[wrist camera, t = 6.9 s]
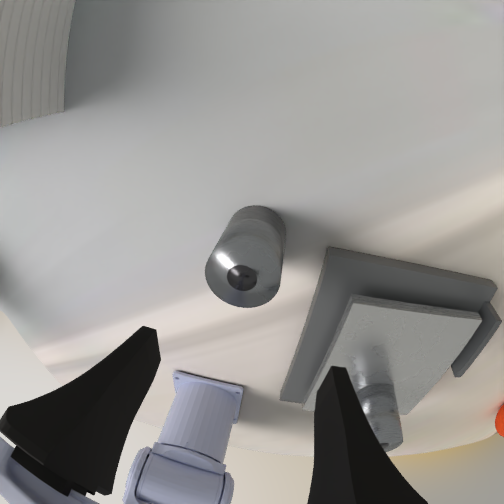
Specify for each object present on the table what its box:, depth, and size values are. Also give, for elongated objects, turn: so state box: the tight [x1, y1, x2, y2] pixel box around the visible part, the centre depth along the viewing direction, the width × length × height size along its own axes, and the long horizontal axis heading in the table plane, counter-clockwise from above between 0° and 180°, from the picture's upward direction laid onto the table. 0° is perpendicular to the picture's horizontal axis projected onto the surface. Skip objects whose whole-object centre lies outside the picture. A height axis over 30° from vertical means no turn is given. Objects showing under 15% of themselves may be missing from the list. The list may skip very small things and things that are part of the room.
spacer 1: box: [205, 206, 286, 308], centre depth 17 cm, size 4×4×6 cm
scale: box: [280, 247, 502, 403], centre depth 22 cm, size 18×16×4 cm
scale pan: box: [302, 294, 482, 415], centre depth 21 cm, size 14×12×2 cm
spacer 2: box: [356, 383, 403, 452], centre depth 20 cm, size 4×4×6 cm
